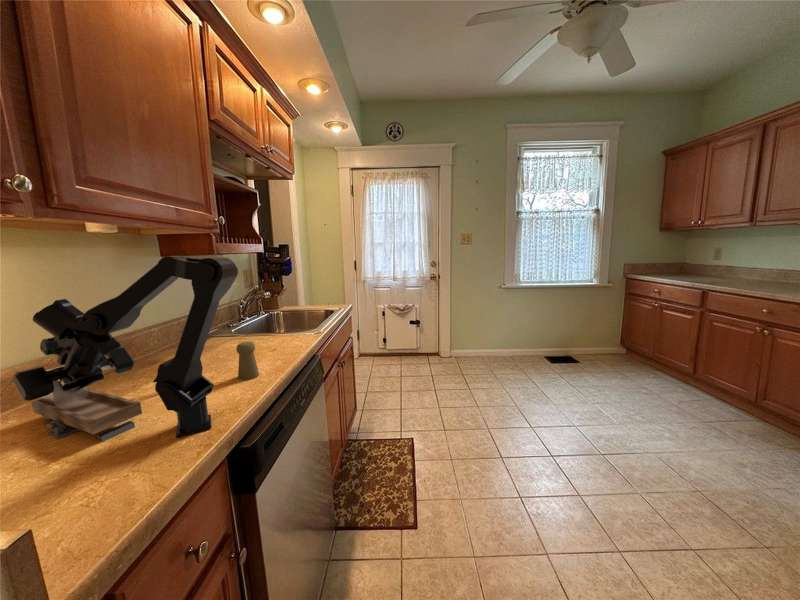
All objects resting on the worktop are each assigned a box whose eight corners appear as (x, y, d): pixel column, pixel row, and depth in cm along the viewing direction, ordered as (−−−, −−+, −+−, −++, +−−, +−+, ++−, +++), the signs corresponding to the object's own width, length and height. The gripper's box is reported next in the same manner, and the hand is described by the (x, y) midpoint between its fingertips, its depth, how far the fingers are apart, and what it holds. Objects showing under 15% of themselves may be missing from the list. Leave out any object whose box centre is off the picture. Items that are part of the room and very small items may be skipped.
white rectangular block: (89, 397, 79) (83, 366, 77) (55, 408, 73) (48, 375, 72) (76, 394, 81) (70, 363, 80) (43, 404, 76) (36, 372, 74)
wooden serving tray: (142, 413, 73) (140, 402, 72) (93, 434, 65) (90, 422, 64) (82, 396, 83) (80, 386, 83) (33, 412, 75) (31, 401, 75)
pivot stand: (152, 419, 75) (150, 407, 75) (80, 451, 64) (77, 437, 63) (95, 401, 85) (93, 390, 85) (24, 426, 73) (21, 414, 73)
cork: (253, 380, 97) (250, 345, 95) (234, 380, 97) (230, 345, 95) (262, 372, 103) (259, 339, 101) (244, 372, 103) (240, 339, 101)
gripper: (120, 315, 79) (103, 353, 85) (6, 334, 62) (-5, 379, 68) (144, 348, 77) (125, 385, 83) (33, 378, 60) (19, 421, 66)
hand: (71, 391), depth 75 cm, fingers closed
